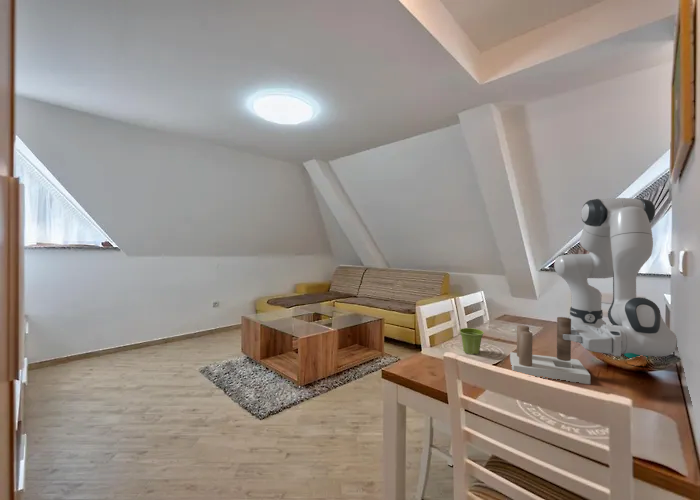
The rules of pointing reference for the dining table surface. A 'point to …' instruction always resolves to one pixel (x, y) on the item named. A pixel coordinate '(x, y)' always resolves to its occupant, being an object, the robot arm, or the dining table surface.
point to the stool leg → (562, 344)
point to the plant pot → (471, 340)
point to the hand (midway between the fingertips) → (560, 334)
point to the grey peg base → (544, 362)
